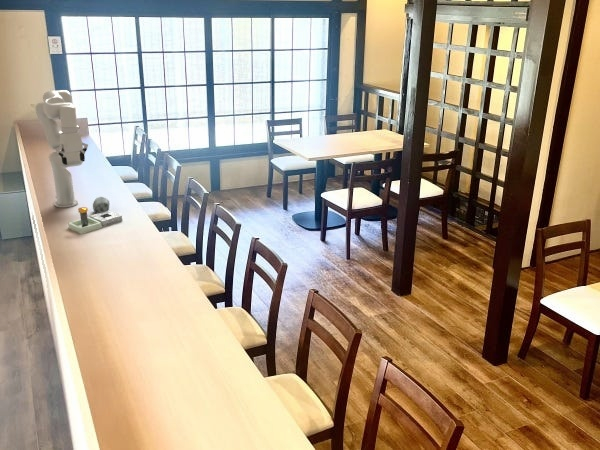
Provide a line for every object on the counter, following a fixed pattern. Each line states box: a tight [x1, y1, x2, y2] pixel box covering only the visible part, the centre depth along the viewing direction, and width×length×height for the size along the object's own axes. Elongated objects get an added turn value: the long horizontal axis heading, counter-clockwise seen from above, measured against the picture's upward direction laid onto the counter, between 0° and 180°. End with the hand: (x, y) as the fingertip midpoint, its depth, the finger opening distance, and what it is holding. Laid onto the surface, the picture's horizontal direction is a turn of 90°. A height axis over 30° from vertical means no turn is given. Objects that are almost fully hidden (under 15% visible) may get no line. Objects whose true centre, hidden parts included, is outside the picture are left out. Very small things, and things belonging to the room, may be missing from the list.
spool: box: [92, 196, 110, 214], centre depth 316 cm, size 14×10×10 cm
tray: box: [67, 216, 103, 235], centre depth 294 cm, size 12×12×3 cm
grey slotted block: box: [89, 209, 123, 228], centre depth 304 cm, size 12×12×3 cm
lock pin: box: [77, 206, 89, 227], centre depth 292 cm, size 5×5×10 cm
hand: (73, 162), depth 292 cm, fingers open, 9 cm apart
